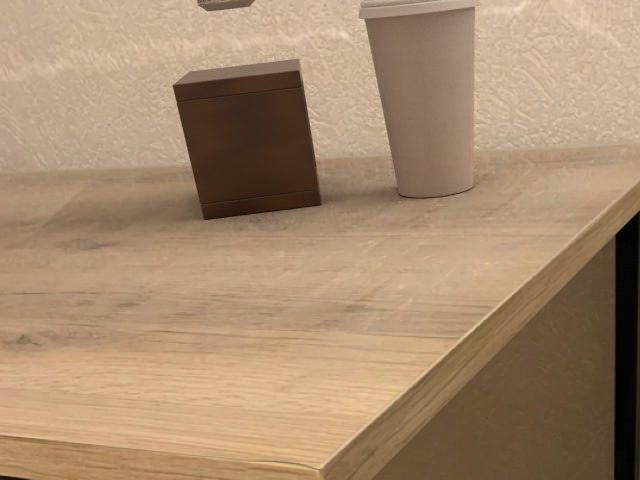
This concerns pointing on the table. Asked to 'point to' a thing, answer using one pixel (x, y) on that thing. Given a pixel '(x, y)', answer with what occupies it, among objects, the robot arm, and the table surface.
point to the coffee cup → (426, 90)
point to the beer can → (223, 4)
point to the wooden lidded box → (249, 138)
